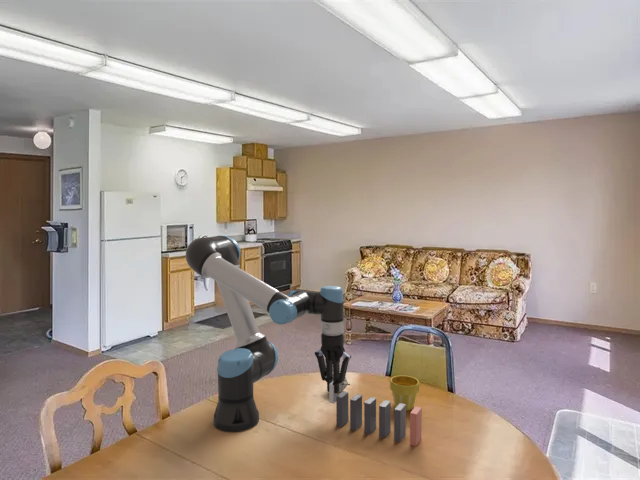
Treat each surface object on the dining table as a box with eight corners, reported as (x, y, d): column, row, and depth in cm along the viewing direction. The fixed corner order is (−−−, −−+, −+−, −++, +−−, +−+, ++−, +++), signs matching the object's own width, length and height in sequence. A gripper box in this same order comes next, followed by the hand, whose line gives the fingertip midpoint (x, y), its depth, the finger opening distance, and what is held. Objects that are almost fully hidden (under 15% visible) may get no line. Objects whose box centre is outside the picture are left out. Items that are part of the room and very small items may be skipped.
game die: (342, 400, 178) (357, 381, 178) (332, 400, 172) (348, 380, 171) (327, 384, 184) (343, 365, 183) (317, 383, 177) (332, 363, 176)
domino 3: (364, 432, 145) (364, 402, 145) (370, 426, 150) (370, 396, 149) (370, 434, 144) (370, 403, 144) (376, 427, 149) (376, 398, 148)
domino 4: (378, 436, 143) (379, 405, 142) (384, 429, 147) (384, 399, 147) (384, 438, 142) (385, 407, 141) (390, 431, 146) (390, 401, 146)
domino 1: (336, 425, 150) (336, 396, 150) (343, 419, 155) (343, 390, 154) (341, 427, 149) (341, 397, 149) (348, 420, 154) (348, 392, 153)
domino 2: (350, 429, 148) (350, 399, 147) (356, 422, 152) (356, 393, 151) (355, 430, 147) (355, 400, 146) (362, 424, 151) (362, 395, 150)
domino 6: (421, 439, 141) (421, 407, 141) (416, 446, 137) (416, 414, 136) (415, 437, 142) (415, 406, 142) (409, 444, 138) (410, 412, 137)
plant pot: (424, 410, 161) (425, 383, 161) (399, 415, 158) (399, 387, 157) (408, 398, 171) (409, 373, 170) (384, 403, 167) (384, 377, 166)
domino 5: (394, 440, 141) (394, 409, 140) (399, 433, 145) (399, 403, 144) (400, 442, 140) (400, 410, 139) (405, 435, 144) (405, 404, 143)
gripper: (309, 333, 152) (311, 402, 153) (345, 338, 145) (345, 410, 147) (320, 327, 158) (321, 394, 160) (354, 332, 152) (355, 401, 153)
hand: (333, 401), depth 153 cm, fingers closed
